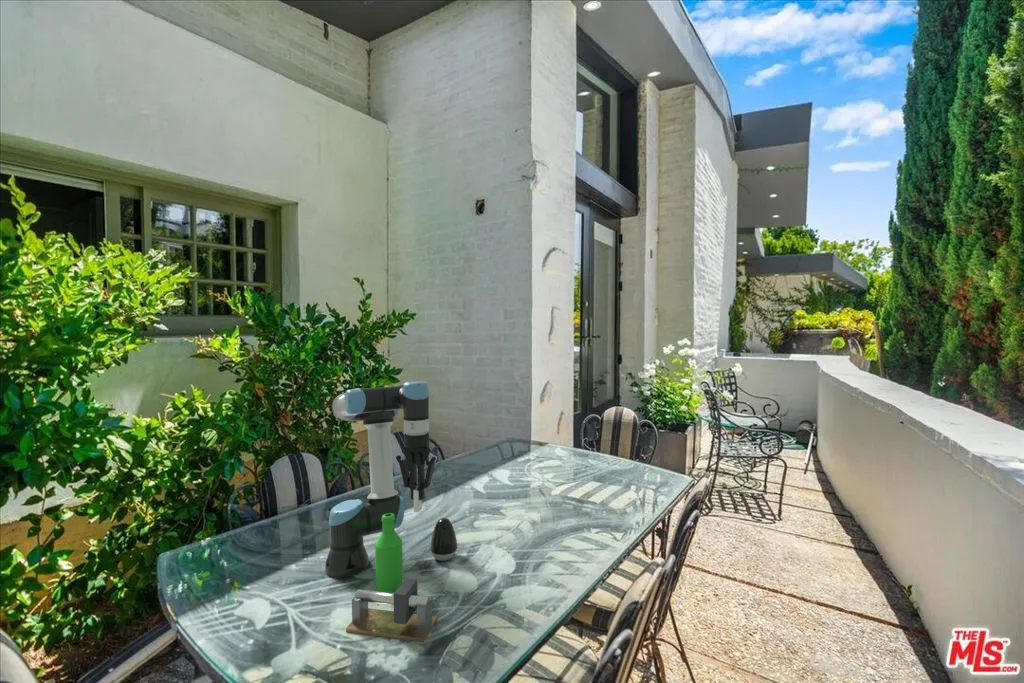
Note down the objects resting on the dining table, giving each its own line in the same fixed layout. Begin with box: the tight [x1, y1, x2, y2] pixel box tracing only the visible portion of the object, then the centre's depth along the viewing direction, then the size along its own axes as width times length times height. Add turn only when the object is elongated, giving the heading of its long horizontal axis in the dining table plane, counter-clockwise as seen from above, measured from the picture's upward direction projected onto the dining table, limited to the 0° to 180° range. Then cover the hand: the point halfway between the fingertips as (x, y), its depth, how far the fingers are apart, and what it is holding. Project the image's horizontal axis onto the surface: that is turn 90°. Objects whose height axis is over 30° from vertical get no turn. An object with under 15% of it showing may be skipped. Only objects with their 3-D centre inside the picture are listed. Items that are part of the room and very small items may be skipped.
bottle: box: [374, 513, 404, 593], centre depth 152 cm, size 9×9×25 cm
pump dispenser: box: [429, 517, 458, 562], centre depth 173 cm, size 10×10×15 cm
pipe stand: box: [345, 588, 438, 643], centre depth 133 cm, size 24×10×10 cm, turn 78°
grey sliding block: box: [393, 577, 419, 624], centre depth 132 cm, size 4×8×8 cm, turn 168°
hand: (417, 510), depth 137 cm, fingers closed
